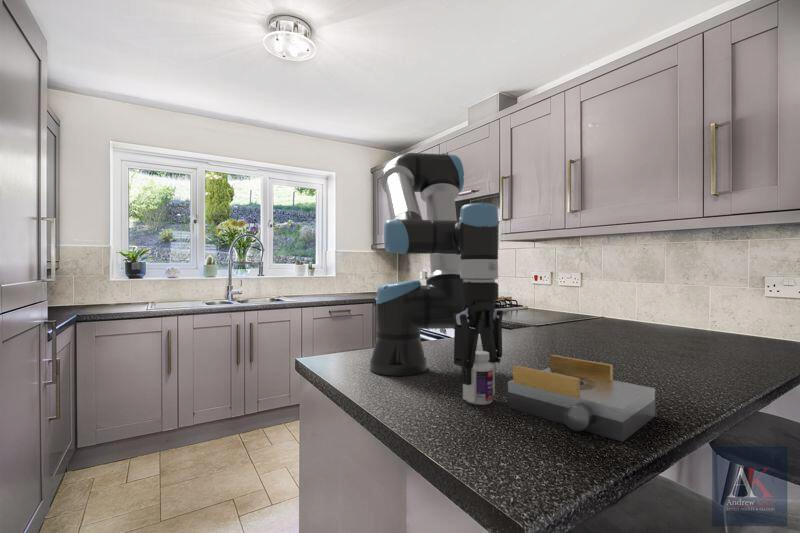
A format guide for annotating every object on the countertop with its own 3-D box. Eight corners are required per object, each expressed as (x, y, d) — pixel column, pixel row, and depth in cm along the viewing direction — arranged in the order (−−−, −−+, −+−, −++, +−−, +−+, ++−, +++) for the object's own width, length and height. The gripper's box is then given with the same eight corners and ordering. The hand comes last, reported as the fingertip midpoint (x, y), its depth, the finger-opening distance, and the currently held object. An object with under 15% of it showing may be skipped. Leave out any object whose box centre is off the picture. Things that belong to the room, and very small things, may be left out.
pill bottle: (493, 406, 75) (493, 355, 75) (465, 404, 76) (465, 354, 76) (492, 397, 80) (492, 350, 80) (465, 395, 81) (465, 349, 81)
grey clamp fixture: (499, 411, 72) (498, 368, 72) (549, 390, 85) (549, 353, 85) (615, 447, 57) (615, 393, 58) (655, 416, 70) (654, 371, 70)
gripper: (464, 282, 69) (464, 413, 69) (520, 280, 82) (520, 392, 81) (433, 281, 75) (433, 402, 75) (490, 280, 87) (490, 384, 87)
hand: (479, 396), depth 78 cm, fingers closed on pill bottle, 5 cm apart
